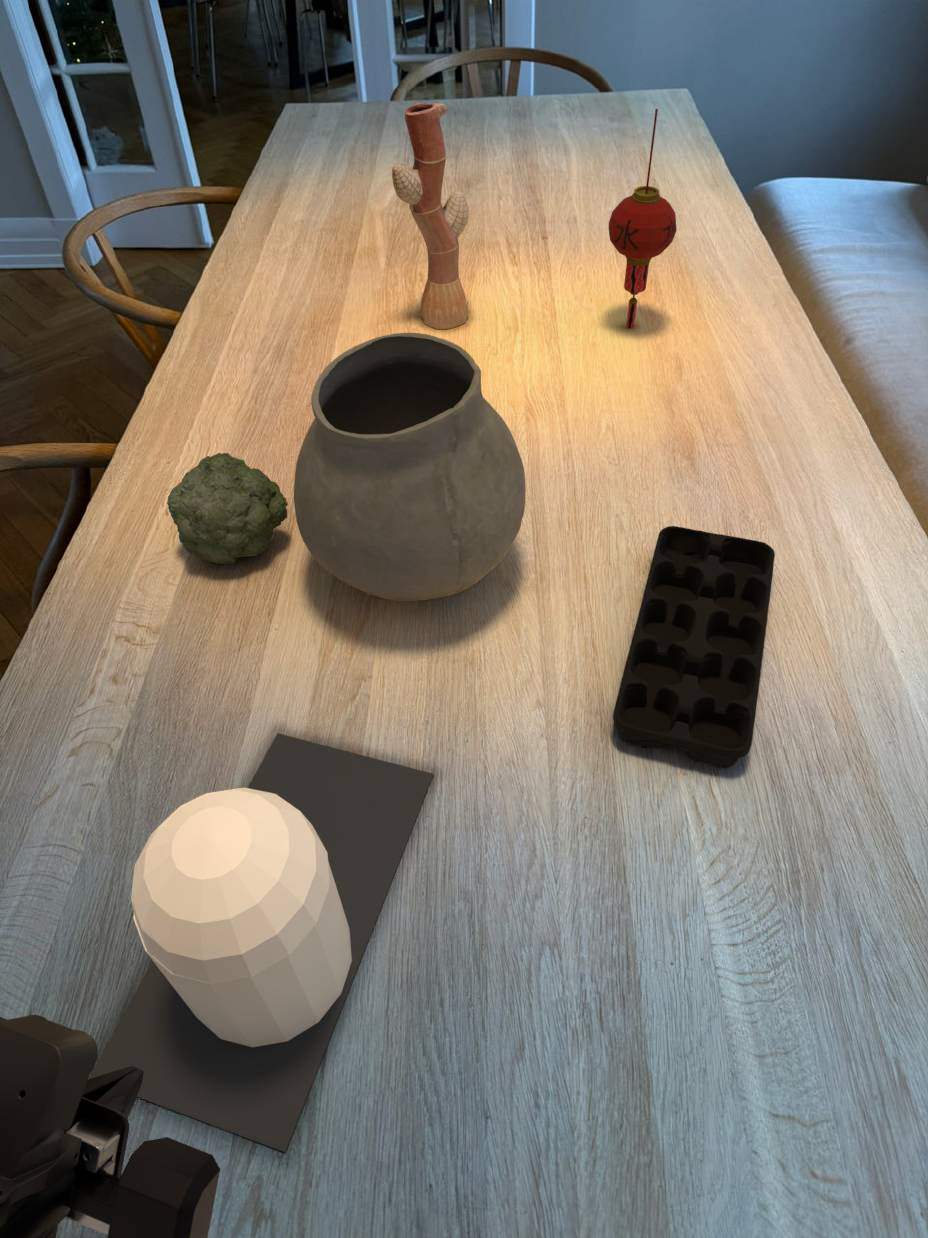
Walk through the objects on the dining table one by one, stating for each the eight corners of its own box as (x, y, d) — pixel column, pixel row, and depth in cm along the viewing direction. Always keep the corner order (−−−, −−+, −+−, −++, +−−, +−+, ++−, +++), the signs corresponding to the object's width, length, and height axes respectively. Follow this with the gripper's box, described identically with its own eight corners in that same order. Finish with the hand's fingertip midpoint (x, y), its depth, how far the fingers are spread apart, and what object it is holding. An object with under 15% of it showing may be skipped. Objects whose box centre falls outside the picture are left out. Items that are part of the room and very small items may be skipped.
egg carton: (610, 767, 82) (614, 744, 79) (607, 545, 102) (610, 520, 99) (805, 780, 80) (816, 757, 77) (763, 552, 100) (771, 527, 97)
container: (330, 858, 76) (289, 725, 61) (373, 1009, 68) (338, 896, 53) (174, 912, 73) (91, 785, 58) (198, 1076, 65) (109, 977, 50)
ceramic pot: (268, 558, 102) (217, 368, 83) (430, 467, 112) (416, 280, 93) (399, 682, 89) (372, 490, 70) (568, 567, 99) (584, 374, 81)
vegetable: (312, 481, 107) (294, 512, 94) (255, 560, 111) (230, 603, 97) (226, 420, 104) (195, 443, 90) (171, 504, 108) (132, 539, 94)
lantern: (673, 323, 133) (709, 105, 111) (639, 350, 129) (668, 128, 107) (621, 304, 138) (645, 90, 115) (586, 329, 133) (604, 111, 111)
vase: (469, 303, 139) (463, 92, 117) (475, 327, 134) (470, 111, 112) (402, 309, 139) (384, 98, 116) (406, 333, 134) (387, 118, 112)
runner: (285, 1153, 62) (285, 1152, 61) (89, 1079, 65) (88, 1078, 65) (433, 775, 82) (433, 773, 82) (277, 734, 85) (277, 733, 85)
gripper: (138, 1173, 35) (303, 996, 50) (-225, 1024, 39) (28, 903, 54) (93, 1427, 36) (268, 1178, 51) (-257, 1254, 40) (0, 1072, 55)
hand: (137, 1075), depth 53 cm, fingers closed
